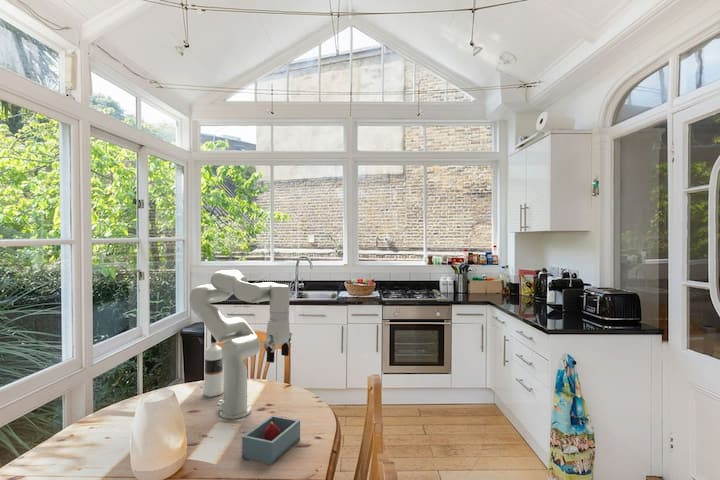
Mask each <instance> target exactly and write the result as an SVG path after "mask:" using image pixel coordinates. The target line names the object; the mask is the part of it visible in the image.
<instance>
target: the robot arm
mask: <svg viewBox="0 0 720 480" xmlns="http://www.w3.org/2000/svg"><path fill="white" fill-rule="evenodd" d="M232 295H234V296H235V297H236V299H238V300H240V301H243V302H247V303H251V304H252V303H253V304H255V303H261V302H269V319H268V320H267V321H268V322H267V324H266V326H267V327H266V334H265V340H264V341H263V345H264V350H265V352H266V363H267V362H268V363H272V364H273V363H275V349H276V347H278V346H281V350H280V351H281V354H280V355H281V356H285V357H288V356H289V353H290V345H291V344H290V342H291V340H292V339H291V338H292V335H293V334H292V332H290V320H289V318H290V317H289V316H290V286H289V285H288V284H284V283H277V282H273V281H266V282H256V283H250V282H249V280H248V278H247V276H245V275H243V273H242V272H241V271H240V270H237V269H226V270H218V271H215V272H214V273H213V274H212V275H211V276H210V284H202V285H198V286H196V287H194V288H193V289H191V291H190V292H189V298H188V299H189V305H190V307H191V309H192V311H193V313H194V314H195V315H196V316H197V317H198V318H199V319H200V320H201V321H202V323H203V325H204V326H205V327H206V328H207V330H208V331H209V333H210V335H211V334H212V336H213V337H214V338H215V339H216V340H217V342H218V343H223V345H222V346H221V348H222V349H221V353H222V359H223V361H222V366H223V387H224V391H223V399H219V400H218V403H217V404H216V406H217V407H221V409H220V410H219V416H220V417H221V418H222V419H227V420H235V419H236V420H237V419H241V418H244V417H247V416H248V415H249V414H250V413H251V412H252V408H251V406H249V405H248V368H247V366H246V363H245V362H244V360H245V359H249V358H251V357H253V356H256V355H257V354H258V353H259V352H260V351H261V347H262V346H261V345H262V344H261V340H260V338H259V336H258V335H257V334H256V332H255V331H254V329H253V328H252V327H251V326H250V324H249V323H248V322H247V321H246V320H245V319H244V318H243V317H240V316H235V317H229V318H228V317H226V316H225V315H224V314H223V313H222V311H221V310H220V309H219V308H218V307H216V306H215V305H212V304H213V303H214V304H215V303H218V302H219V303H220V302H223V301H226V300H228V299H229V298H230V297H231V296H232Z"/></svg>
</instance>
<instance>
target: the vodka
mask: <svg viewBox="0 0 720 480" xmlns="http://www.w3.org/2000/svg"><path fill="white" fill-rule="evenodd" d="M217 342H218V341H217V340H216V339H215V338H214V337H213V336H212V334H211V333H210V345H209V346H208V347H206V348H205V350H204V353H203V354H204V373H203V375H204V383H203V385H204V387H203V389H202V390H203V391H202V392H203V393H202V394H203V395H204V396H205V397H207V398H213V397H219V396H220V395H222V394H224V378H223V376H224V370H223V359H222V353H221V349H222V346H221V345H218V343H217ZM218 395H219V396H218Z"/></svg>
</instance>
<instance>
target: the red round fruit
mask: <svg viewBox="0 0 720 480" xmlns="http://www.w3.org/2000/svg"><path fill="white" fill-rule="evenodd" d="M280 434H281V431H280V429H279V428H278V426H277V425H275V424H274V423H273V422H271V424H270V425H269V426H268V427H267V428H266V429H265V432H264V439H265V440H269V441H272V440H274V439H275V438H276V437H277V436H279V435H280Z"/></svg>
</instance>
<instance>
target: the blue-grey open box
mask: <svg viewBox="0 0 720 480" xmlns="http://www.w3.org/2000/svg"><path fill="white" fill-rule="evenodd" d="M271 422H273V423H274V424H275V425H277V426H278V428H279V429H280V431H281V434H280V435H279V436H277V437H276V438H275V439H274V440H272V441H269V440H265V439H264V432H265V429H266V428H267V427H268V426H269V425H270V424H271ZM300 440H301V419H295V418H290V417H284V416H278V415H274V414H273V415H271V416H269V417H268V418H267V419H265V420H263V421H262V422H260V423H259V424H258V425H256V426H255V427H254V428H252V429H251V430H250V431H248V432H247V433H245V434H244V435H241V458H242V459H246V460H252V461H255V462H260V463H264V464H268V465H274V464H275V463H276V462H277V461H278V460H279V459H280V458H282V457H283V456H284V455H285V454H286V453H287V452H288V451H289V450H290V449H292V447H294V446H295V445H297V443H298V442H299V441H300Z"/></svg>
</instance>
